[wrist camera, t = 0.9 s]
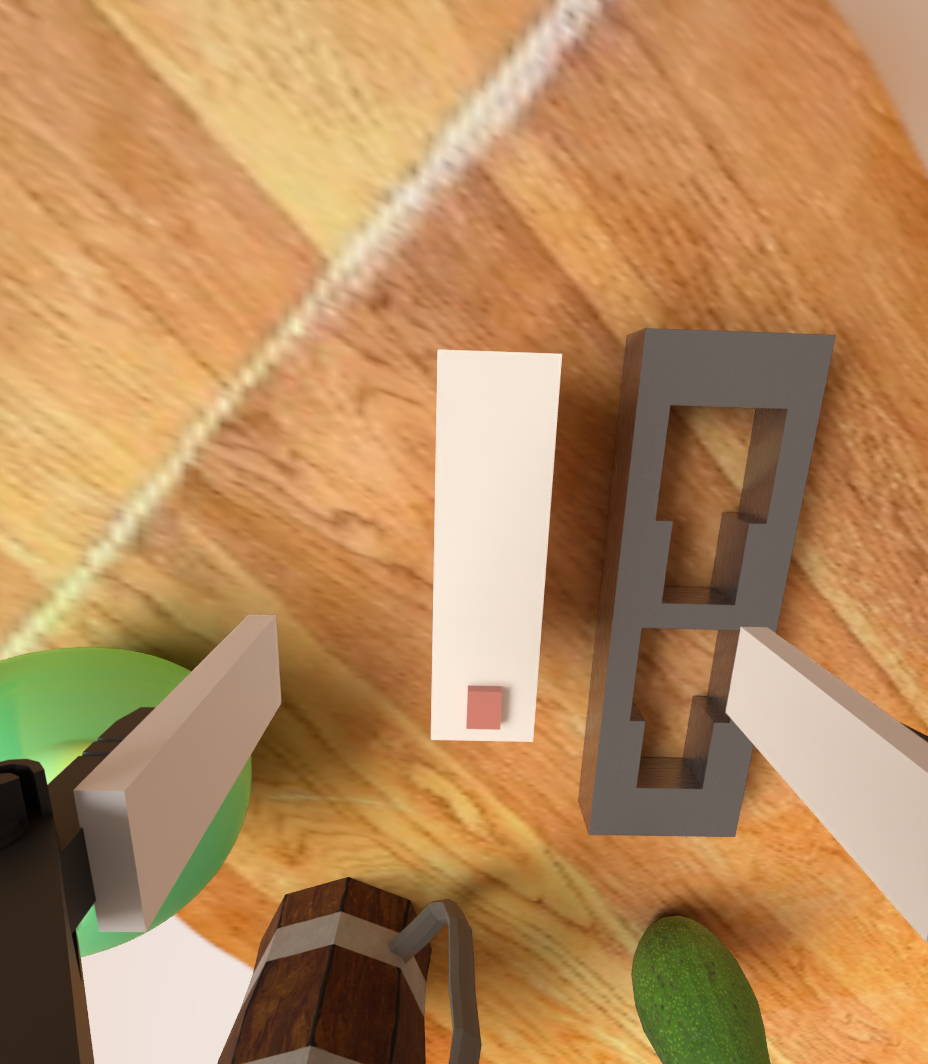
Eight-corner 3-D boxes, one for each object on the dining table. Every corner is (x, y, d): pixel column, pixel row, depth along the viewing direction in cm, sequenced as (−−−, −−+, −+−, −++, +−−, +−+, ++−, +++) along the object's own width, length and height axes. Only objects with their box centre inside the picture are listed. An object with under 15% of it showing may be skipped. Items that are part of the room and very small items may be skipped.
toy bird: (25, 795, 36) (-251, 1048, 22) (7, 575, 32) (-347, 712, 18) (278, 822, 37) (167, 1082, 23) (291, 611, 33) (167, 768, 19)
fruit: (626, 975, 41) (692, 1199, 30) (604, 903, 40) (666, 1112, 28) (723, 952, 41) (828, 1171, 29) (706, 878, 39) (811, 1080, 27)
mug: (344, 1031, 43) (286, 1356, 28) (225, 939, 40) (92, 1245, 25) (525, 910, 40) (565, 1204, 25) (409, 801, 37) (378, 1060, 22)
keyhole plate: (626, 335, 29) (645, 328, 26) (798, 341, 29) (835, 335, 26) (578, 800, 37) (588, 834, 34) (713, 803, 37) (735, 837, 34)
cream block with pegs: (443, 366, 29) (437, 348, 20) (529, 368, 30) (564, 352, 20) (438, 648, 34) (430, 746, 24) (512, 649, 34) (534, 748, 24)
